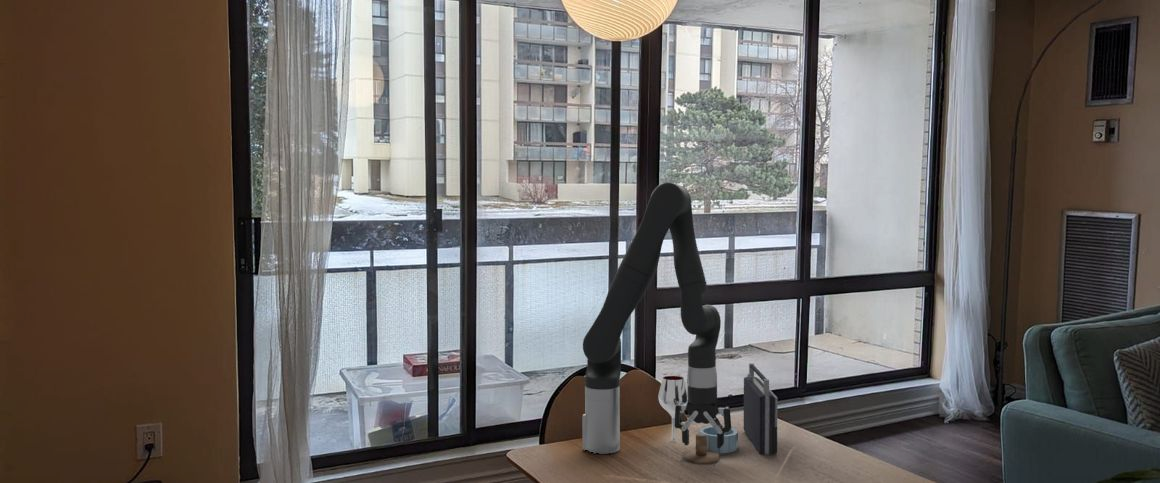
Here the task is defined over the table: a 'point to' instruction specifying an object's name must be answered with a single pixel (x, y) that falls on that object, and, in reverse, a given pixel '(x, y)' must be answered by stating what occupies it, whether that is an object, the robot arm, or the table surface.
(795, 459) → the table surface
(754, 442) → the radio
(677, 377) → the wineglass
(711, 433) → the bowl
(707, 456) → the lid
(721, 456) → the mat
